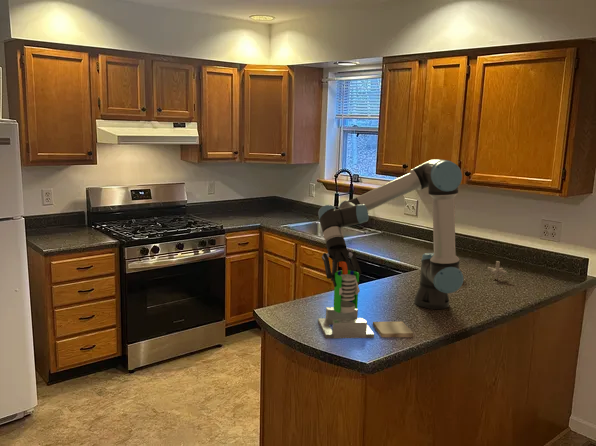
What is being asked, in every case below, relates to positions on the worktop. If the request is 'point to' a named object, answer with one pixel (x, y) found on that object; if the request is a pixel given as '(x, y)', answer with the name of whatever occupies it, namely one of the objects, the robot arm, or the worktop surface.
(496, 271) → the pipe connector
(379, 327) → the board
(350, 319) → the vise
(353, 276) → the green-shelled ribbed roller
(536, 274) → the worktop surface
